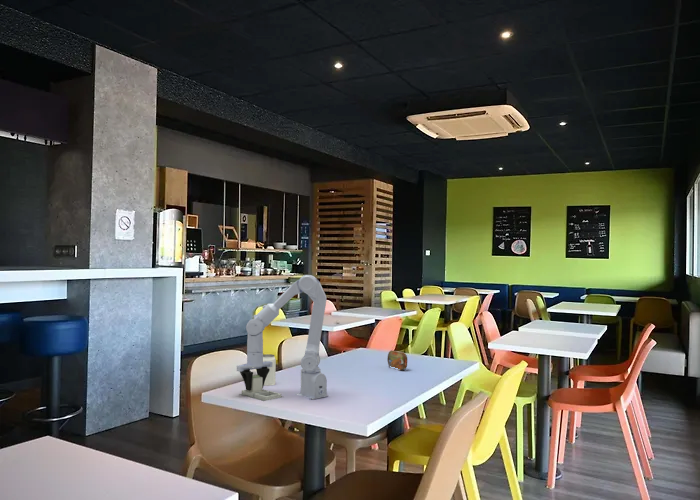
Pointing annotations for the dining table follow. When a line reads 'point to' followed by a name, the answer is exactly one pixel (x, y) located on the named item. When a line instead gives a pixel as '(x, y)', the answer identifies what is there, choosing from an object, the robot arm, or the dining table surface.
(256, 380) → the plug
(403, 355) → the tin
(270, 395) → the grey divided tray
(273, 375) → the can
